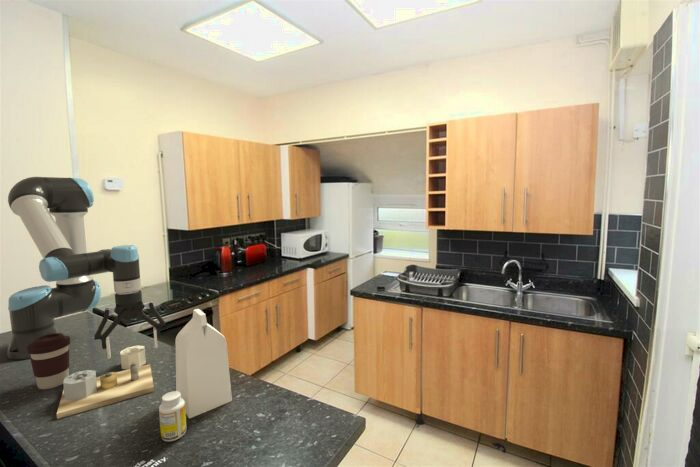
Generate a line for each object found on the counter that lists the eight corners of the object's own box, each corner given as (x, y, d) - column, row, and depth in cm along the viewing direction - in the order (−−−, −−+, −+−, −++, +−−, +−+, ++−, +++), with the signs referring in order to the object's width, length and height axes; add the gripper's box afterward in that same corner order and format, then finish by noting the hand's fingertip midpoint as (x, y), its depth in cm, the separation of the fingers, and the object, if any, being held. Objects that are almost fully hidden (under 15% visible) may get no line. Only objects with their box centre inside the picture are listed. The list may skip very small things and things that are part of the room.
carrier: (65, 389, 100) (63, 368, 100) (150, 368, 113) (149, 349, 112) (57, 419, 87) (54, 395, 86) (154, 391, 99) (152, 370, 99)
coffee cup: (49, 394, 98) (43, 345, 96) (22, 390, 100) (16, 342, 98) (82, 376, 107) (77, 332, 106) (57, 373, 109) (52, 329, 108)
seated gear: (67, 391, 97) (65, 374, 96) (97, 383, 101) (95, 367, 100) (63, 403, 91) (62, 386, 91) (95, 394, 95) (94, 378, 95)
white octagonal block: (121, 362, 116) (120, 349, 116) (145, 357, 120) (144, 344, 120) (121, 371, 111) (120, 357, 110) (146, 365, 114) (145, 351, 114)
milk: (232, 400, 95) (228, 312, 92) (189, 418, 87) (183, 323, 84) (216, 383, 104) (212, 302, 101) (176, 397, 96) (170, 311, 93)
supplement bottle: (180, 423, 86) (178, 386, 84) (190, 433, 82) (188, 394, 81) (157, 435, 81) (154, 396, 80) (166, 446, 78) (163, 405, 77)
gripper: (79, 301, 102) (86, 366, 105) (171, 287, 116) (175, 346, 119) (82, 295, 108) (88, 357, 111) (168, 283, 122) (172, 338, 125)
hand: (133, 351), depth 115 cm, fingers open, 13 cm apart
